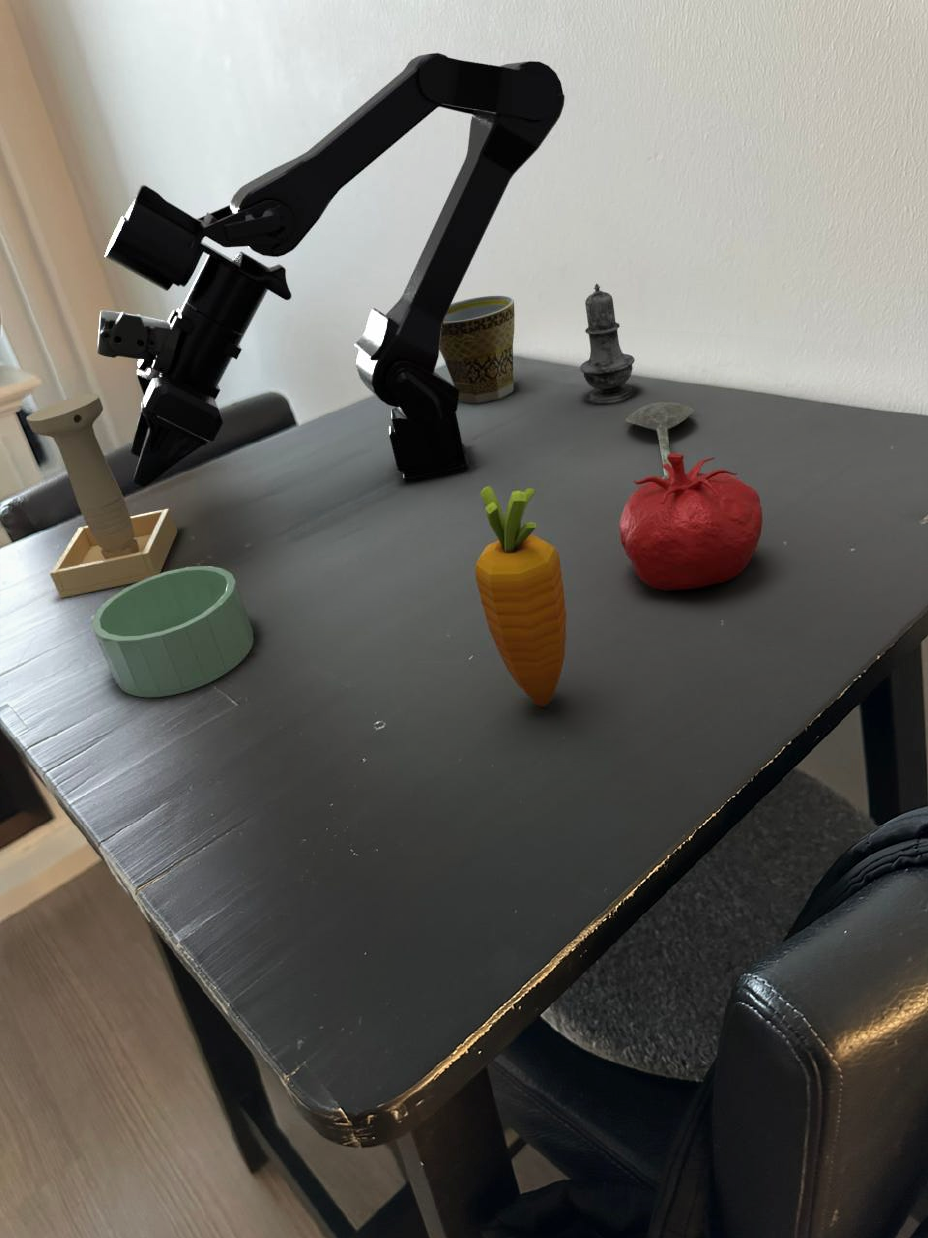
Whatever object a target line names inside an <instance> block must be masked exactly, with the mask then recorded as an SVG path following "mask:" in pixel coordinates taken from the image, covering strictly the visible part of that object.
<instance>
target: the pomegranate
mask: <svg viewBox="0 0 928 1238" xmlns="http://www.w3.org/2000/svg"><path fill="white" fill-rule="evenodd" d="M667 459H668V461H669V462H670V464H671V466H672V468H671V466H670V465H669V464H668V463H666V464H663V463H662V468H663V467H664V468H665V469H666V471H667V473H668V475H669V478H666V479H663V477H662V478H661V477H659V476H656V475H651V476H648V477H645V478H642V479H639V480H633V482H634V484H636V485H641V486H640V487H639V488H637V489H635V491H634V492H633V493H632V494H631V495H630V497H629V498H628V500H627V502H626V503H625V505H624V508H623V510H622V513H621V517H620V520H619V524H618V533H619V539H620V542H621V545H622V547H623V550H624V552H625V555H626V556H627V557H628V559H629V560H630V561H631V564H632V566H633V569H634V570H635V573H636V575H637V577H638V578H639V579H640V581H642V582H644V584H645V585H647V586H649V587H650V588H653V589H655V590H660V591H666V592H667V591H681V590H682V591H683V590H684V591H685V590H693V589H700V588H704V587H709V586H712V585H718V584H721V583H725V582H727V581H730V580H731V579H733V578H735V577H736V576H738V575H740V574H741V573H742V572H743V571H744V569H746V568H747V566H748V564H749V562H750V561H751V560H752V557H753V555H754V553H755V551H756V549H757V547H758V544H759V540H760V538H761V534H762V527H763V507H762V505H761V499H760V496H759V493H758V491H757V490H756V489H754V488H753V487H752V486H750V485H749V484H746V483H745V482H744V481H742V480H741V479H740V478H738V477H737V476H736V475H738V472H732V471H729V470H726V469H715V470H712V471H711V472H700V471H701V468H702V466H703V465H704V463H707V462H709V461H713V460H715V459H716V458H715V457H711V458H705V459H703V460H700V461H698V462H697V463H696V465H694V466H693V467H692V468H691V469H690V470H689V471H688V473H686V469H685V465H684V454H683V453H676V452H672V453H671V452H670V454H668V455H667Z"/></svg>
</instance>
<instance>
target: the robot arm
mask: <svg viewBox="0 0 928 1238" xmlns="http://www.w3.org/2000/svg"><path fill="white" fill-rule="evenodd" d="M565 98H566V96H565V94H564V91H563V87H562V82H561V80H560V78H559V75H558V74H557V72H556V71H555V70H553V69H552V67H551V66H549V64H546V63H544V62H541V61H533V60H529V61H521V62H512V63H504V64H501V65H493V64H487V63H481V62H476V61H475V62H474V61H469V60H463V59H462V60H461V59H457V58H452V57H448V56H447V55H446V54H442V53H439V52H434V53H427V54H421V55H417V56H415V57H414V58H412V59H410V61H409V62H408V63H407V64H406V66H405V67H404V69H403V70H402V71H401V72H400V73H398V75H396V76H395V77H394V78H393V79H392V80H390V81H389V82H388V83H387V84H386V85H384V86H383V87H382V88H381V89H380V90H378V91H377V92H376V93H375V94H374V95H373V96H371V97H370V98H369V99H368V100H366V102H364V103H363V104H362V105H360V107H358V108H357V109H356V110H355V111H354V112H353V113H351V114H350V115H349V116H347V118H345V119H344V120H343V121H342V122H341V123H339V124H338V125H337V126H336V127H335V128H333V129H331V131H330V132H328V134H326V135H325V136H324V137H323V138H322V139H320V140H319V141H318V142H317V143H315V144H314V145H313V146H312V147H311V148H310V149H308V151H306V152H304V153H302V154H300V155H299V156H297V157H295V158H294V159H293V158H292V159H291V160H289V161H287V162H285V163H283V164H281V165H278V166H276V167H274V168H273V169H270V170H269V171H267V172H265V173H263V174H262V175H260V176H258V177H256V178H254V179H253V180H251V181H249V182H248V183H245V184H244V185H242V186H241V187H239V189H238V190H237V191H236V192H235V194H234V195H233V196H232V198H231V201H230V203H229V204H228V205H226V206H224V207H221V208H219V209H217V210H215V211H212V212H206V214H205V215H203V216H201V217H198V218H196V217H194V216H193V215H191V214H189V213H188V212H186V211H185V210H183V209H181V208H179V207H178V206H176V205H174V204H173V203H171V202H169V201H168V200H166V199H164V197H162V195H161V194H160V193H158V192H157V191H155V189H152V188H151V187H149V186H147V185H146V184H142V185H140V187H139V189H138V191H137V193H136V196H135V197H134V199H133V200H132V202H131V203H130V205H129V207H128V209H127V211H126V213H125V215H121V217H120V219H119V221H118V223H117V225H116V228H115V230H114V232H113V234H112V235H111V239H110V240H109V243H108V245H107V248H106V250H105V251H106V252H105V255H104V257H105V258H107V260H110V261H112V262H113V263H116V264H117V265H118V266H121V267H123V268H124V269H125V270H128V271H130V272H131V273H133V274H135V275H136V276H138V277H140V278H142V279H144V280H146V281H148V282H150V283H151V284H152V285H155V286H157V287H159V288H160V289H162V290H164V291H166V292H168V291H169V290H170V289H171V288H172V286H174V285H175V286H177V287H180V286H181V287H183V288H185V287H186V286H187V284H188V283H189V282H190V280H191V278H192V277H193V275H194V273H195V271H196V269H197V267H198V265H199V262H200V261H201V258H202V256H203V254H206V255H207V257H206V259H205V261H204V264H203V265H202V267H201V269H200V271H199V273H198V275H197V276H196V279H195V280H194V283H193V285H192V287H191V288H190V291H189V293H188V294H187V297H186V298H185V300H184V302H183V305H182V306H181V308H180V307H177V309H173V310H172V311H171V313H170V315H169V316H168V319H167V320H163V319H158V318H154V317H149V316H144V315H141V313H136V314H134V313H133V314H132V313H127V312H126V311H123V310H122V311H121V312H120V311H115V310H105V309H104V310H103V309H102V310H100V311H99V324H98V334H97V335H98V337H97V354H98V355H100V356H103V357H107V358H113V359H115V358H116V357H117V358H118V357H122V358H129V359H136V360H138V361H137V367H138V369H136V375H137V380H138V383H139V386H140V388H141V391H142V394H143V399H142V401H141V403H140V405H141V406H140V407H141V408H140V412H139V415H138V420H137V424H136V428H135V432H134V436H133V440H132V445H131V447H130V453H131V454H132V455H134V456H135V457H138V458H139V459H138V462H137V466H136V468H135V472H134V475H133V479H132V480H133V483H134V485H137V486H139V487H142V488H146V487H147V486H148V485H150V484H152V482H154V481H155V480H157V479H158V478H159V477H160V476H162V475H163V474H164V473H165V472H167V471H168V470H170V469H171V468H172V467H174V466H176V465H177V464H178V463H180V461H182V460H183V459H185V458H186V457H188V456H189V455H190V454H192V453H193V452H195V451H197V450H198V449H199V448H201V447H203V446H204V447H205V446H206V445H207V444H208V442H214V441H215V440H216V437H217V435H218V433H219V431H220V430H221V428H222V426H223V424H224V422H223V419H222V415H221V412H220V409H219V407H218V404H217V401H216V399H217V398H218V396H219V394H220V392H221V388H220V385H219V384H220V382H221V381H222V378H223V376H224V375H225V372H227V371H226V370H227V368H228V367H229V365H230V363H231V361H232V359H235V360H238V358H239V356H240V354H241V353H242V351H243V349H242V347H241V345H240V344H241V342H242V340H243V338H244V336H245V334H247V333H246V332H247V331H248V329H249V327H250V325H251V324H252V321H253V319H254V317H255V315H256V313H257V312H258V310H259V308H260V306H261V304H262V303H263V301H264V299H265V296H266V295H267V292H268V291H269V292H271V293H272V294H274V295H276V296H278V297H280V298H281V299H283V300H285V301H290V300H291V299H292V292H291V290H290V288H289V285H288V281H287V270H286V268H285V267H284V266H283V265H282V264H280V263H279V264H276V265H274V266H269V267H268V266H267V265H265V264H264V263H262V262H261V261H259V260H256V259H255V258H253V257H252V256H250V255H248V254H247V253H245V252H243V251H239V252H238V253H236V255H235V256H233V258H231V257H230V256H227V255H225V254H223V253H222V252H221V251H218V250H217V249H215V248H213V247H212V246H210V245H208V244H206V243H204V242H203V240H204V238H205V237H206V238H207V239H209V240H211V241H213V242H214V243H216V244H218V245H220V246H221V247H223V248H241V247H247V248H249V249H250V250H252V251H253V252H255V253H257V254H259V255H261V256H263V257H271V258H272V257H273V258H278V257H282V256H285V255H286V254H289V253H290V252H293V250H295V249H296V247H298V245H300V243H301V242H302V241H303V240H304V238H305V237H306V236H307V235H308V233H309V232H310V231H311V230H312V228H313V227H314V226H315V225H316V224H317V223H318V221H319V220H320V218H321V217H322V216H323V214H324V212H325V211H326V209H327V208H328V206H329V205H330V203H331V202H332V200H333V199H334V197H336V195H337V194H338V193H339V191H341V190H342V189H343V188H344V187H345V186H346V185H347V184H349V182H351V181H352V180H353V179H355V178H356V177H357V176H358V175H359V174H361V173H362V172H363V171H364V170H365V169H367V168H368V167H369V166H370V165H371V164H372V163H374V161H376V160H377V159H378V158H379V157H380V156H382V155H383V154H384V153H385V152H387V150H389V149H390V148H391V147H393V146H394V145H395V144H396V143H397V142H398V141H400V140H401V139H403V138H404V136H406V135H407V134H408V133H409V132H410V131H412V130H413V129H414V128H415V127H417V126H418V125H419V124H420V123H421V122H423V120H424V119H426V118H427V117H429V115H430V114H431V113H433V112H434V111H435V110H437V108H442V109H447V110H451V111H454V112H459V113H464V114H467V115H471V119H470V125H469V126H470V127H469V136H468V145H467V151H466V155H465V158H464V161H463V163H462V165H461V168H460V169H459V172H458V173H457V176H456V177H455V181H454V182H453V185H452V187H451V189H450V191H449V193H448V196H447V198H446V200H445V202H444V204H443V207H442V209H441V211H440V213H439V215H438V218H437V219H436V222H435V224H434V226H433V228H432V230H431V232H430V234H429V237H428V239H427V241H426V243H425V245H424V247H423V249H422V252H421V254H420V256H419V258H418V260H417V263H416V265H415V266H414V269H413V271H412V273H411V275H410V278H409V279H408V282H407V284H406V286H405V289H404V291H403V293H402V295H401V297H400V298H399V300H397V302H396V303H395V304H394V306H392V307H391V308H390V309H389V310H388V311H387V313H386V314H385V313H383V312H382V311H380V310H378V309H377V308H375V307H373V308H372V309H371V311H370V314H369V317H368V320H367V324H366V327H365V330H364V332H363V334H362V335H361V337H360V339H359V340H357V341H356V342H355V343H354V347H355V348H356V349H357V350H358V354H357V357H356V362H355V363H356V365H355V366H356V369H357V373H358V376H359V379H360V380H361V382H362V383H363V384H364V386H365V387H366V388H367V389H368V390H369V391H370V392H372V393H373V394H374V396H376V397H377V398H378V399H379V400H380V401H382V402H383V403H384V404H385V405H387V406H391V407H394V408H391V410H390V412H391V413H390V415H391V417H390V418H391V424H390V425H389V426H388V436H389V440H390V444H391V447H392V453H393V456H394V461H395V464H396V468H397V472H399V473H402V476H403V477H402V478H403V482H404V483H409V482H410V483H411V482H415V481H419V480H420V481H421V480H424V479H429V478H434V477H438V476H443V475H447V474H452V473H458V472H462V471H466V470H469V462H468V458H467V453H466V448H465V444H464V443H463V438H462V434H461V431H460V430H461V429H460V425H459V419H458V416H457V411H458V406H459V400H460V399H459V390H458V389H457V388H456V387H455V386H454V384H453V383H450V382H449V381H448V380H447V379H445V378H444V377H442V376H441V375H440V374H438V373H437V372H435V370H436V366H437V364H438V359H439V355H440V350H439V349H440V340H441V331H442V324H443V320H444V317H445V315H446V313H447V311H448V309H449V307H450V305H451V304H452V303H453V301H454V298H455V297H456V294H457V292H458V290H459V288H460V286H461V284H462V282H463V280H464V278H465V276H466V274H467V272H468V269H469V267H470V266H471V263H472V261H473V259H474V256H475V255H476V252H477V251H478V249H479V246H480V244H481V243H482V240H483V237H484V236H485V234H486V231H487V229H488V227H489V225H490V223H491V221H492V219H493V217H494V214H495V213H496V211H497V208H498V206H499V205H500V202H501V200H502V198H503V196H504V194H505V191H506V189H507V187H508V185H509V183H510V181H511V179H512V178H513V177H514V175H515V174H516V173H517V172H518V171H519V170H520V169H521V167H523V166H524V165H525V163H526V162H528V160H529V159H530V158H531V157H532V156H533V155H534V154H535V153H536V152H537V151H538V150H539V148H540V147H541V146H542V144H543V143H544V141H545V140H546V138H547V137H548V135H549V134H550V132H551V131H552V130H553V128H554V126H555V125H556V124H557V123H558V120H559V119H560V118H561V116H562V112H563V109H564V106H565ZM146 370H147V371H146ZM145 371H146V372H145Z"/></svg>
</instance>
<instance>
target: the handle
mask: <svg viewBox="0 0 928 1238" xmlns="http://www.w3.org/2000/svg"><path fill="white" fill-rule="evenodd" d="M103 411H104V406H103V403H102V400H101V398H100V396H99V395H98V394H96V393H85V394H81V395H77V396H73V397H70V398H66V399H63V400H60V401H57V402H55V403H52V404H50V405H47V406H45V407H42V408H40V409H38V410H36V411H34V412H32V413H30V414H29V415H27V416H26V422H27V424H28V426H29V428H30V430H31V431H32V432H33V433H34V434H36V435H40V436H45V437H50V438H52V439H53V440H54V442H55V444H56V446H57V448H58V450H59V453H60V456H61V458H62V461H63V464H64V468H65V470H66V473H67V476H68V478H69V481H70V484H71V487H72V490H73V493H74V497H75V499H76V502H77V505H78V508H79V510H80V513H81V515H82V517H83V521H84V522H85V525H86V526H88V528H89V530H90V532H91V534H92V536H93V538H94V539H95V541H96V543H97V544H98V546H99V547H100V548H102V549H101V553H102V555H103V556H104V558H105V559H110V558H115V557H120V556H124V555H129V554H134V553H138V552H139V546H138V542H137V539H134V538H133V537H134V529H133V525H132V521H131V518H130V517H131V515H130V511H129V508H128V504H127V503H126V501H125V498H124V496H123V493H122V491H121V489H120V486H119V484H118V483H117V480H116V477H115V476H114V473H113V472H112V470H111V467H110V466H109V464H108V463H109V462H108V461H107V459H106V457H105V454H104V452H103V450H102V448H101V446H100V443H99V441H98V439H97V436H96V434H95V430H94V426H93V425H94V423H95V421H96V420H97V419H98V417H100V416H101V414H102V412H103Z"/></svg>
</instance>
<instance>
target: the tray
mask: <svg viewBox="0 0 928 1238" xmlns="http://www.w3.org/2000/svg"><path fill="white" fill-rule="evenodd" d="M130 518H131V521H132V525H133V529H134V537H133V538H134V539H137V542H138V546H139V552H138V553H134V554H129V555H124V556H120V557H115V558H110V559H105V558H104V556H103V555H102V553H101V549H102V548H100V547H99V546H98V544H97V543H96V541H95V539H94V538H93V536H92V534H91V532H90V530H89V528H88V526H87V525H85V526H80V527H78V529H77V530H76V532H75V534H74V535H73V536H72V538H71V540H70V541H69V543H68V544H67V546H66V548H65V549H64V551H63V552H62V554H61V555H60V557H59V559H58V560H57V562H56V563H55V565H54V567H53V568H52V570H51V571H50V573H49V575H50V577H51V579H52V581H53V584H54V586H55V588H56V591H57V592H58V595H59V597H60V599H63V598H64V599H65V598H68V597H74V596H77V595H83V594H87V593H92V592H97V591H101V590H107V589H111V588H115V587H121V586H125V585H130V584H136V583H138V582H140V581H142V580H144V579H146V578H149V577H152V576H155V575H158V574H161V573H162V569H163V567H164V564H165V562H166V560H167V558H168V555H169V553H170V551H171V548H172V546H173V544H174V541H175V539H176V537H177V534H178V529H177V526H176V523H175V521H174V518H173V514H172V513H171V510H170V508H164V509H160V510H159V509H158V510H155V511H149V512H146V513H140V514H137V515H132V516H131V515H130Z"/></svg>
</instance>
